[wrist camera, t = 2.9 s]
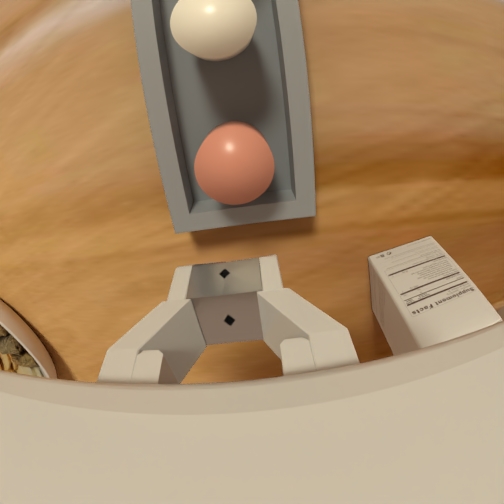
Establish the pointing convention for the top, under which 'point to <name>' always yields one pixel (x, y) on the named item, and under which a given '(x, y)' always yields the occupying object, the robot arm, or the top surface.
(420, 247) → the supplement box
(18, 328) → the bowl
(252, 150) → the brick button
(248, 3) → the cream round piece
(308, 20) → the top surface
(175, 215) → the grey rectangular tray
